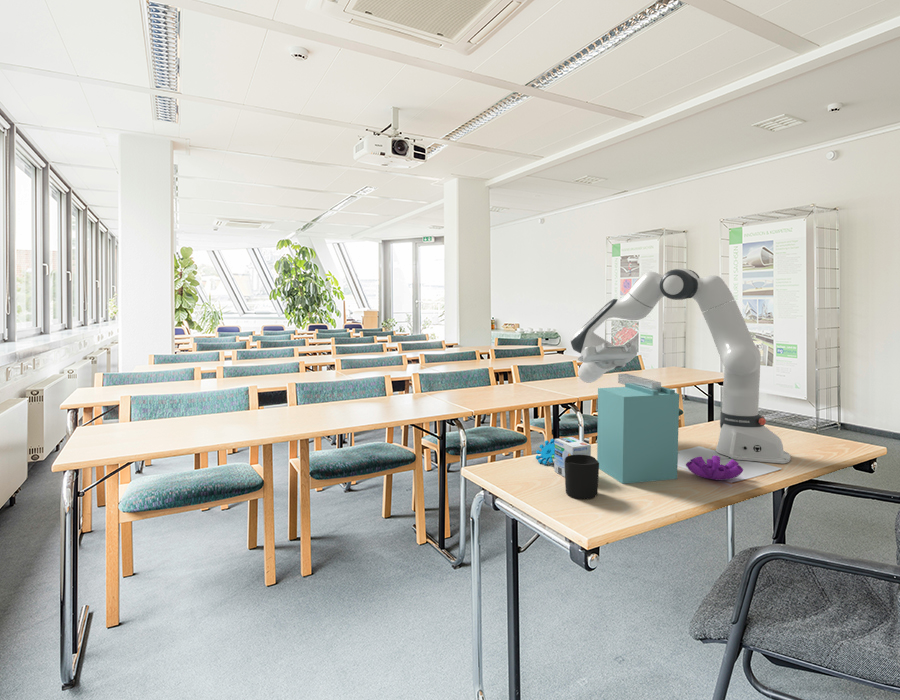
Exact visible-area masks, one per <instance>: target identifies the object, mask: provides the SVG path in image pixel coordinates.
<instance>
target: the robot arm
mask: <svg viewBox="0 0 900 700" xmlns="http://www.w3.org/2000/svg"><path fill="white" fill-rule="evenodd" d="M664 297H666V298H667V299H670V300H673V301H675V300H677V301H678V300H679V301H680V300H681V301H682V300H687V299H693V300H694V301H696V303H697V304H698V307H699V309H700V311H701V313H702V316H703V318H704V320H705V322H706V324H707V327H708V329H709V331H710V334H711V336H712V339H713V341H714V344H715V347H716V350H717V353H718V356H719V357H720V360H721V362H722V364H723V367H724V368H723V369H724V370H723V384H722V400H721V402H722V403H721V404H722V406H721V411H720V413H719V427H720V430H719V431H720V432H719V438H718V441H717V443H716V444H717V445H716V447H715V452H717V453H718V454H720V455H723V456H726V457H729V458H730V459H731V460H732V459H733V460H739V461H751V462H761V463H770V464H771V463H773V464H788V463H790V461H791V454H790V453H789V452H788V451H786V450H784V446H783V441H782V440H781V438H780V436H778V435H777V434H776V433H774V432H773V431H772V430H770V429H769V428H768V427H767V426H765V424H766V423H767V421H766V418H765V416H764V415H761V414H760V413H759V405H760V404H759V402H760V401H759V398H760V381H761V380H760V376H761V360H762V358H761V357H762V356H761V351H760V349H759V348H758V346H757V345H756V344H755V342H754V340H753V338H752V336H751V332H750V331H749V328H748V326H747V324H746V320H745V319H744V317H743V315H742V312H741V309H740V308H739V306H738V303H737V301H736V299H735V297H734V295H733V293H732V291H731V290H730V288H729V287H728V285H727V284H726V283H725V281H724V279H723V278H722V277H721V276H719V275H707V276H705V277H700V276H699V274H698V273H697V272H696V271H694V270H691V269H687V268H675V269H671V270H669V271H667V272H665V273H664V274H663V275H661V274H660V273H659V272H656V271H647V272H645V273H644V274H642V276H640V278H639V279H637V280H636V282H635V283H634V284H633V285H632V286H631V288H630V289H628V291H627V293H626V294H624V295H623V296H622V297H620V298H613V299H612V300H609V301H608V302H607V303H606V304H605V305H604V306H603V307H601V309H599V310H598V312H597V313H595V315H594V316H593V317H591V318H590V319H589V320H588V321H587V322H586V323H585V324H584V325H583V326H582V327H581V328H579V329H578V330H577V331H576V332H575V333H574V334H573V335H572V337H571V339H570V345H571V347H572V350H573V351H574V352H577V353H579V354H580V356H579V357H578V358H577V360H578V361H580V362H582V363H581V365H580V366H579V367H578V369H577V375H578V378H579V379H580V380H581V381H582V382H584V383H594V382H596V381H597V380H598V379H600V378H602V376H603V375H604V374H606V373H607V372H609V371H612V370H616V369H620V368H624V367H626V364H627V363H629V362H631V361H632V360H633V359H634V358H635V357H637V355H638V351H637V347H636V346H635V345H633V343H632V342H630V341H629V342H626V343H625V345H614V344H613V343H612V342H610V341H608V340H606V339H605V338H603V337H601V336H599V335H598V334H596V333H595V331H596V330H597V329H598V328H599V327H600V326H601V325H602V324H603V323H604V322H605V321H607V320H608V319H611V318H617V319H622V320H627V321H639V320H643V319H645V318H646V317H647V316H648V315H649V314H650V313H651V312H652V310H653V309H654V308H655V306H656V305H657V304H658V302H659V301H661V300H662V298H664Z"/></svg>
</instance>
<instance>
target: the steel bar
mask: <svg viewBox="0 0 900 700" xmlns="http://www.w3.org/2000/svg"><path fill="white" fill-rule="evenodd" d="M617 375H618V379H617V382H618V383H617V384H621V385H624V386H625V383H632V384H635V385H639V386H642V387H646V388H649V389H653V390H657V391H658V392H661V387H662V382H661V381H658V380H653V379H650V378H649V379H648V378H646V377H642V376H638V375H634V374H629V373H618V374H617Z"/></svg>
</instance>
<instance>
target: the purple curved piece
mask: <svg viewBox="0 0 900 700" xmlns="http://www.w3.org/2000/svg"><path fill="white" fill-rule="evenodd" d="M689 460H690V461H687V463H686V464H685V466H686V468H687V469H688V470H689V471H690V472H691V473H692V474H693V475H695V476H698V477H701V478H703V479H704V478H705V479H706V480H707V479H708V480H713V481H723V480H730V479H731V480H732V479H734V478H737V477H738V476H741V474H742V473H743V472H744V469H743V467H741V465H739V462H738V461H736V459H732V458H731V459H730V460H729V461H728V462H727V463H726V464H721V457H720V456H719V455H712V457H711V458H706V462H705V460H704V457H702V456H700V455H699V456H697V457H694V458H692V459H689Z"/></svg>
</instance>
